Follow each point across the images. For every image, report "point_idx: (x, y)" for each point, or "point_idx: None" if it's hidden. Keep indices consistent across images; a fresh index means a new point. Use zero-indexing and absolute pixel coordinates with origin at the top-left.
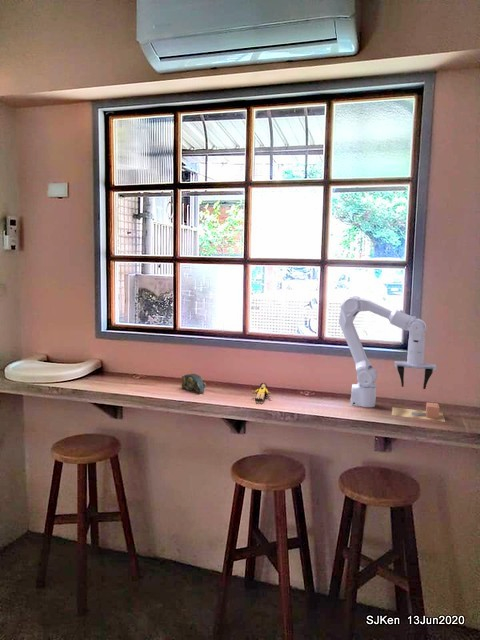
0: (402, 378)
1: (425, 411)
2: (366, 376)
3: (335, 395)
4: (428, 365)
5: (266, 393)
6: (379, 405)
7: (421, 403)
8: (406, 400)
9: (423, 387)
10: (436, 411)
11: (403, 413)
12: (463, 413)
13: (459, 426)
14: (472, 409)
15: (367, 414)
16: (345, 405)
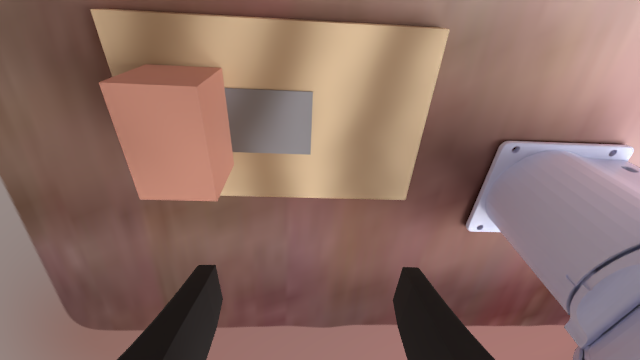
0: (461, 349)
1: (238, 191)
2: None
3: None
4: None
5: None
6: (444, 240)
7: (264, 314)
8: (318, 326)
9: (214, 285)
10: (137, 74)
11: (362, 104)
12: (85, 257)
13: (15, 14)
14: (72, 310)
15: (574, 60)
16: None
